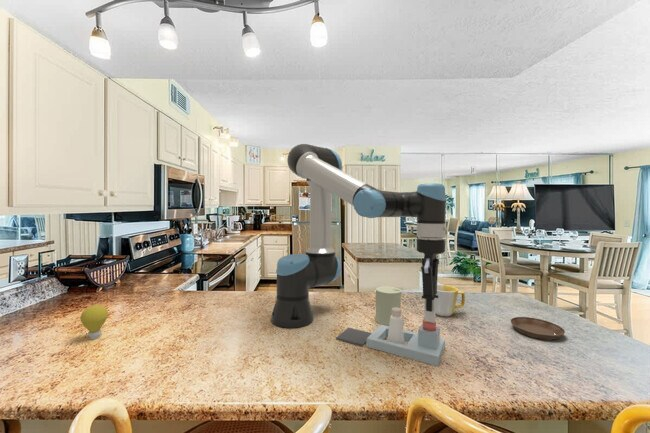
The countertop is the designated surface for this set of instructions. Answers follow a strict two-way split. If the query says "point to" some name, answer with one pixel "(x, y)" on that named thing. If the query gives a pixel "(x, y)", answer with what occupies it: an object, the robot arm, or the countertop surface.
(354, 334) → the mat
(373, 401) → the countertop surface
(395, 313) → the pepper shaker
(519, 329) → the saucer
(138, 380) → the countertop surface
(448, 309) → the mug
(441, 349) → the frame
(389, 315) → the can
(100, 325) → the light bulb
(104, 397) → the countertop surface
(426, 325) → the plunger
